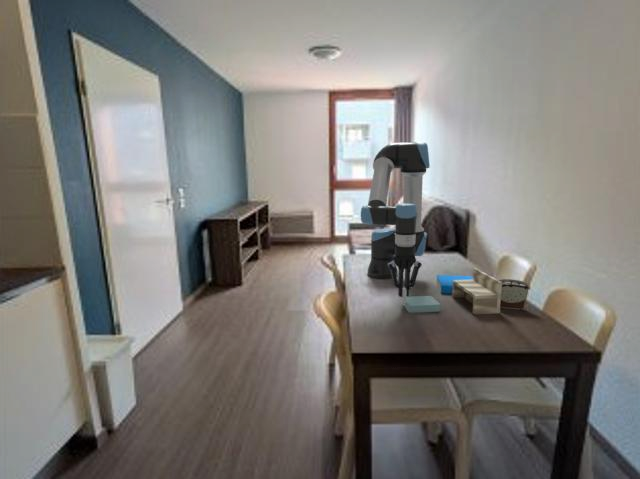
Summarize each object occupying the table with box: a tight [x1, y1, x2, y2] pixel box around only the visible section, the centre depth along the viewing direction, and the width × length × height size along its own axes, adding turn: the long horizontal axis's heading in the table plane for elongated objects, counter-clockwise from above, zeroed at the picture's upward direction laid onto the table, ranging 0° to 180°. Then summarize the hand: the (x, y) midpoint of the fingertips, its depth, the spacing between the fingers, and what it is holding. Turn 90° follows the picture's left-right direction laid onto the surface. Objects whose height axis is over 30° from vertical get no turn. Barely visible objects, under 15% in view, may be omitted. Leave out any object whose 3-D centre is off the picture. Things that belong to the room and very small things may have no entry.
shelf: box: [451, 267, 502, 315], centre depth 150 cm, size 20×10×12 cm, turn 5°
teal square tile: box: [403, 295, 441, 313], centre depth 149 cm, size 10×12×3 cm
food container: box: [498, 278, 531, 311], centre depth 149 cm, size 12×6×10 cm, turn 71°
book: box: [436, 274, 473, 295], centre depth 171 cm, size 17×4×25 cm
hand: (403, 304), depth 149 cm, fingers closed
